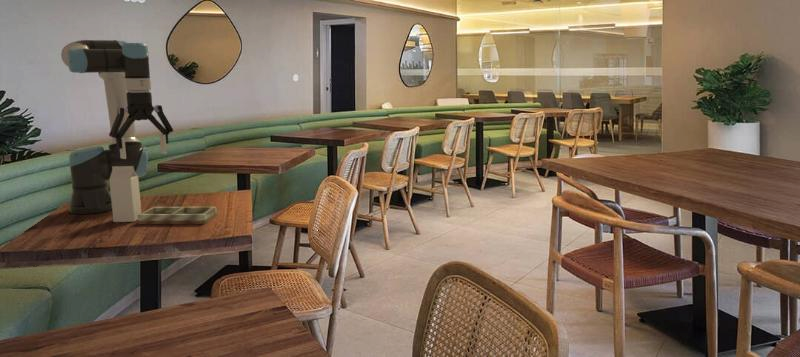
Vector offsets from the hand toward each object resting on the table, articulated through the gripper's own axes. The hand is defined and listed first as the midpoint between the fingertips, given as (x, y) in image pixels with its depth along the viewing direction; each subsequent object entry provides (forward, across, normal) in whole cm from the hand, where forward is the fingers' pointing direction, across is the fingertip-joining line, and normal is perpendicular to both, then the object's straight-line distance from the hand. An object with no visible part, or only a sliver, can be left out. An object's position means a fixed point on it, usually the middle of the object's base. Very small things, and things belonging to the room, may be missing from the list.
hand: (144, 156), depth 198 cm
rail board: (+24, +10, -1) cm, 26 cm away
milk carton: (+24, -2, +12) cm, 27 cm away
